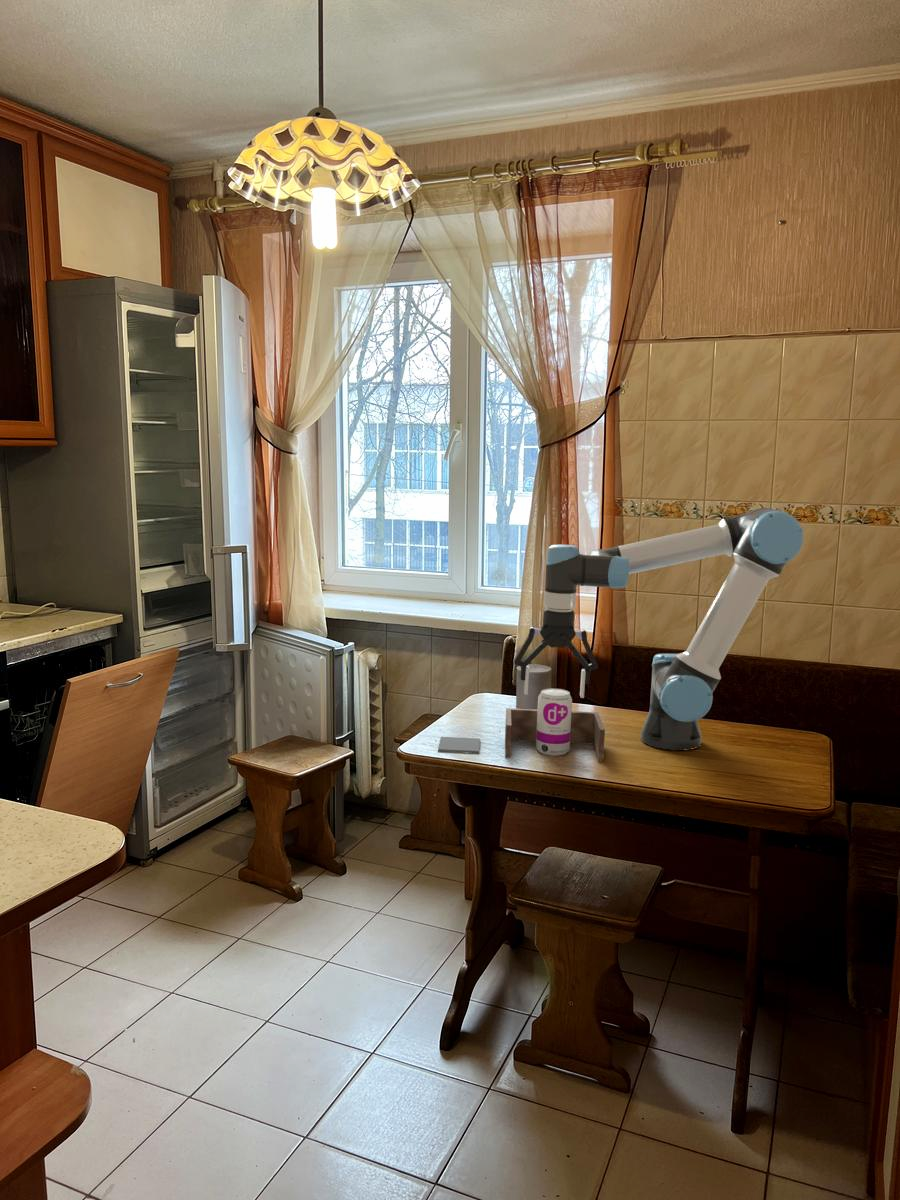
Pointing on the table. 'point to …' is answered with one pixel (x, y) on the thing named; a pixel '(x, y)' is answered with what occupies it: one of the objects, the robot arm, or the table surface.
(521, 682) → the pillar candle
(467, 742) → the rubber mat
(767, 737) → the table surface
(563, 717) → the supplement can
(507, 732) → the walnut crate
